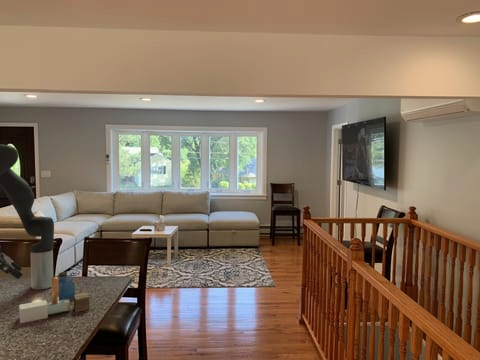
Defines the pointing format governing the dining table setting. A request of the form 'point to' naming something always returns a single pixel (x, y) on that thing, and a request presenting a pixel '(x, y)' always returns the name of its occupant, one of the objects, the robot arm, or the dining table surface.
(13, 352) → the dining table surface
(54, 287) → the grey bar with post
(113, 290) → the dining table surface
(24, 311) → the pale white block
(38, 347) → the dining table surface
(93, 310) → the dining table surface
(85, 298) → the socket block
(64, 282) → the perfume bottle
